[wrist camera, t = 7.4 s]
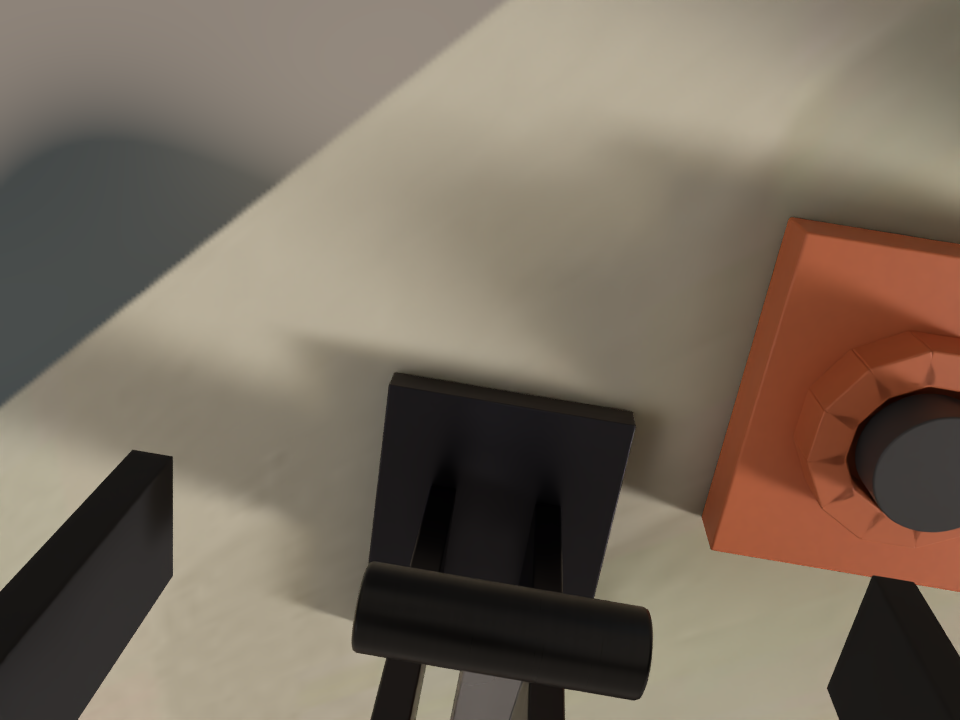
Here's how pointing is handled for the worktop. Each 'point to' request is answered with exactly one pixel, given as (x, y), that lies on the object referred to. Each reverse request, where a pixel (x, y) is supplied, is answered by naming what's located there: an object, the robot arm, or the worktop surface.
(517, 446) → the bracket
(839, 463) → the button block
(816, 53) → the worktop surface
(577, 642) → the lever
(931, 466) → the button
